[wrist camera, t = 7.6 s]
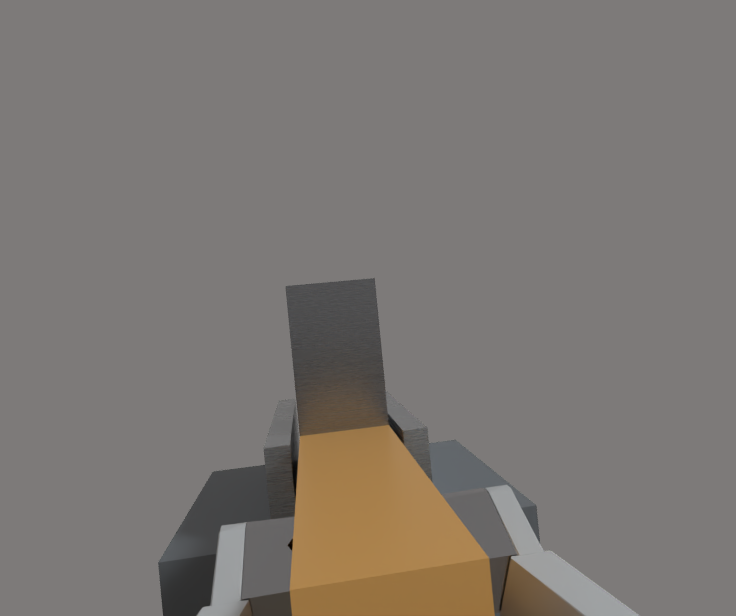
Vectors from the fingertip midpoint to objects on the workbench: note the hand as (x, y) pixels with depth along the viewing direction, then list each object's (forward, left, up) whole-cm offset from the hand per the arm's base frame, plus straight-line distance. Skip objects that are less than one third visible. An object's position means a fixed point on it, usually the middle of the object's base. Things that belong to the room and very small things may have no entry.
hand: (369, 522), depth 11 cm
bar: (0, +5, -2) cm, 6 cm away
